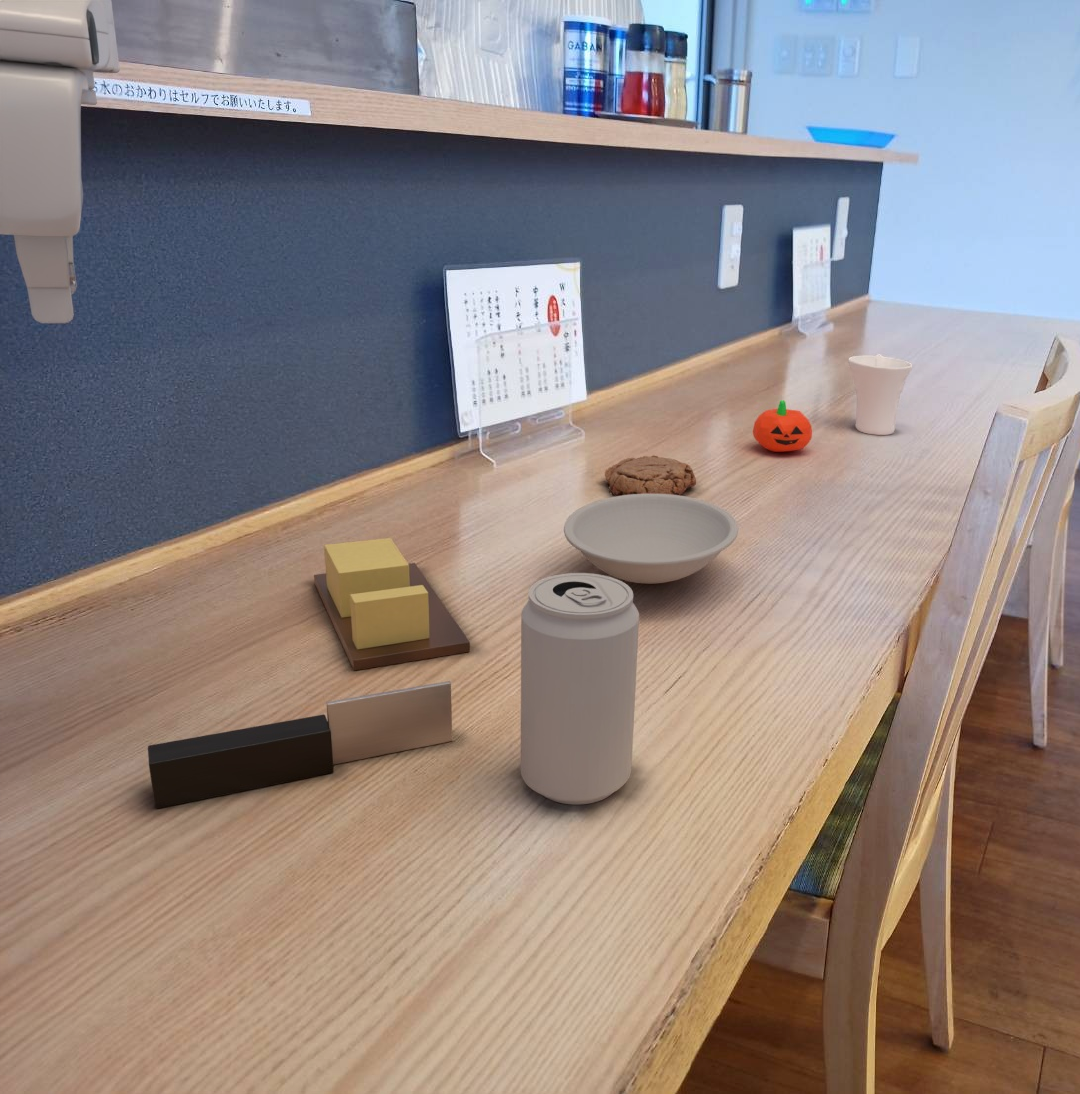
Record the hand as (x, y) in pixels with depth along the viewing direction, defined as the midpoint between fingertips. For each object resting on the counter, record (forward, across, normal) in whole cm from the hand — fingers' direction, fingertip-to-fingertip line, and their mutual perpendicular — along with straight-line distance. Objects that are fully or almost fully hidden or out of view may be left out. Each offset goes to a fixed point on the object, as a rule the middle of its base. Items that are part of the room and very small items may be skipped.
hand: (57, 307), depth 57 cm
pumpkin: (+24, -39, +74) cm, 87 cm away
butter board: (+24, -6, +18) cm, 31 cm away
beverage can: (+24, +20, +23) cm, 39 cm away
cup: (+24, -45, +93) cm, 106 cm away
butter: (+23, -8, +17) cm, 30 cm away
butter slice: (+23, 0, +17) cm, 29 cm away
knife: (+24, +13, +10) cm, 29 cm away
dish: (+24, -6, +40) cm, 47 cm away
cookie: (+24, -29, +51) cm, 64 cm away
